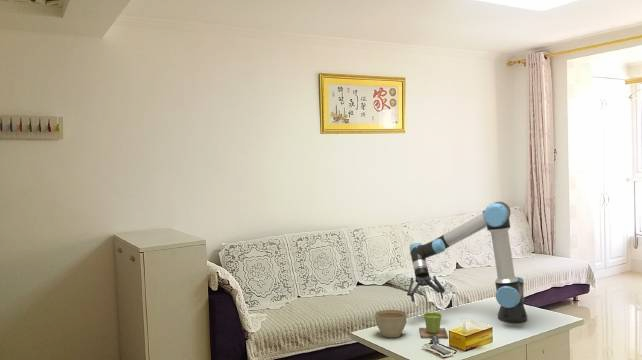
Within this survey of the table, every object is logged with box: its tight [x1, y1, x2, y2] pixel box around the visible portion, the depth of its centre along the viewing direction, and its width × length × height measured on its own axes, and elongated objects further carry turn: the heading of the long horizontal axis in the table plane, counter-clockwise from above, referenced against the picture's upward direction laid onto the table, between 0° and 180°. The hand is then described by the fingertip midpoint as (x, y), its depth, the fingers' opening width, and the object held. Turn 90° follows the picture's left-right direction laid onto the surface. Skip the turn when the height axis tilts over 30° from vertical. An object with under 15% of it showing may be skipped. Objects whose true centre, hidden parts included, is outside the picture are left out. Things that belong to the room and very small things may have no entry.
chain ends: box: [430, 335, 440, 344], centre depth 269 cm, size 3×26×2 cm, turn 173°
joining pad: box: [418, 327, 449, 340], centre depth 270 cm, size 13×13×1 cm
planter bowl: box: [374, 309, 408, 338], centre depth 271 cm, size 16×16×11 cm
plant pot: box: [422, 311, 443, 333], centre depth 270 cm, size 9×9×9 cm
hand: (429, 306), depth 283 cm, fingers open, 13 cm apart
